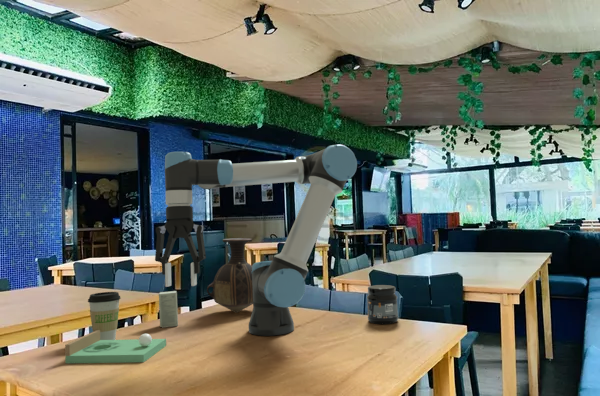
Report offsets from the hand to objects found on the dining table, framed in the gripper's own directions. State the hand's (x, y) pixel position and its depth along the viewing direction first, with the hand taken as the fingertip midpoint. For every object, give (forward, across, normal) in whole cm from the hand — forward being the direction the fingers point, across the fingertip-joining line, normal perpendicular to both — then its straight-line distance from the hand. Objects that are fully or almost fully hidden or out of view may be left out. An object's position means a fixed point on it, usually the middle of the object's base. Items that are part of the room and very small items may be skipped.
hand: (181, 285), depth 129 cm
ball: (+15, +11, 0) cm, 19 cm away
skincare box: (+19, +17, -34) cm, 43 cm away
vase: (+19, -4, -55) cm, 58 cm away
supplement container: (+19, -60, -34) cm, 72 cm away
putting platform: (+19, +19, 0) cm, 27 cm away
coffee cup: (+19, +31, -15) cm, 39 cm away
